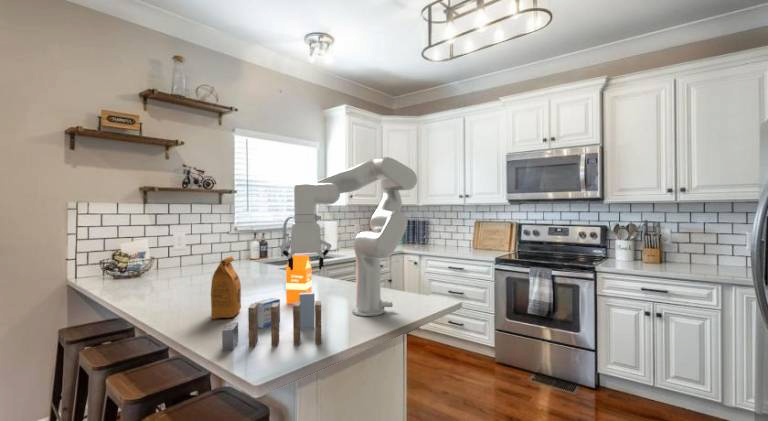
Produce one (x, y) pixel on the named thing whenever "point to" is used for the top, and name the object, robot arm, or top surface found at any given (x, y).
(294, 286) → the orange juice
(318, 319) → the domino
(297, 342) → the domino
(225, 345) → the block
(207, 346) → the top surface
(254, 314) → the domino
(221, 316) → the coffee package
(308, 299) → the domino
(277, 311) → the domino
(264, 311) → the medicine box
